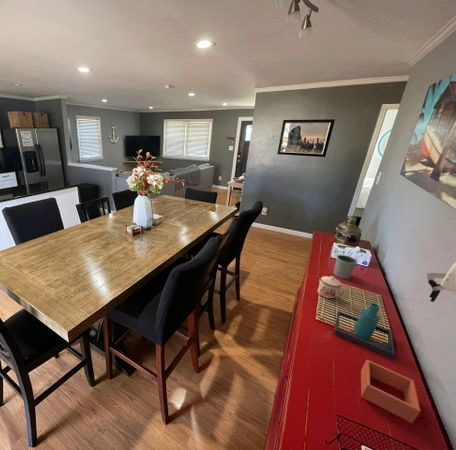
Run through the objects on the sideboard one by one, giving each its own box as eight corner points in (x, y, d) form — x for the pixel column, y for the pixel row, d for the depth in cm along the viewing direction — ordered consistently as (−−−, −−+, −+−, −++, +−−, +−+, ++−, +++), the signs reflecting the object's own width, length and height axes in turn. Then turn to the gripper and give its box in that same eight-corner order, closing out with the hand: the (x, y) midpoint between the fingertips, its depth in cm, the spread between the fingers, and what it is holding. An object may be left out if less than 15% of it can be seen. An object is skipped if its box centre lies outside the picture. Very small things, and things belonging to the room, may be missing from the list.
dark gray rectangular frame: (388, 335, 108) (391, 330, 107) (392, 358, 96) (395, 354, 95) (336, 314, 119) (338, 310, 118) (333, 334, 108) (335, 329, 107)
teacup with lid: (316, 295, 133) (322, 278, 128) (316, 287, 140) (322, 270, 135) (342, 304, 127) (350, 286, 122) (342, 295, 134) (348, 277, 129)
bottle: (370, 332, 108) (383, 304, 102) (370, 341, 104) (384, 312, 98) (353, 326, 111) (365, 298, 105) (353, 334, 107) (366, 305, 101)
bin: (406, 391, 84) (413, 380, 82) (412, 423, 75) (420, 411, 73) (360, 370, 91) (366, 359, 89) (361, 396, 82) (367, 385, 80)
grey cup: (353, 281, 147) (360, 264, 143) (334, 277, 150) (340, 261, 145) (347, 272, 156) (353, 256, 152) (329, 269, 159) (334, 253, 154)
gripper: (537, 273, 64) (501, 322, 71) (443, 247, 78) (420, 290, 84) (535, 281, 61) (497, 332, 67) (437, 252, 74) (413, 297, 81)
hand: (454, 309), depth 76 cm, fingers open, 9 cm apart
